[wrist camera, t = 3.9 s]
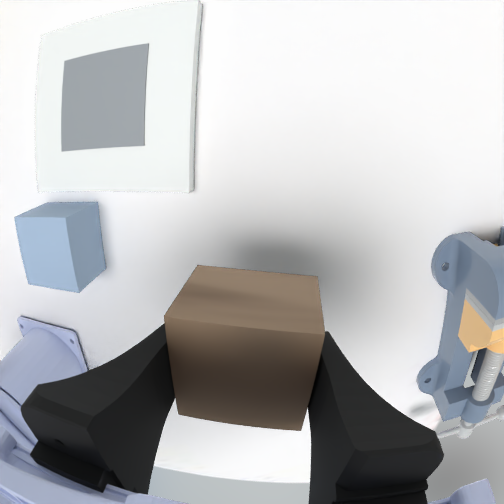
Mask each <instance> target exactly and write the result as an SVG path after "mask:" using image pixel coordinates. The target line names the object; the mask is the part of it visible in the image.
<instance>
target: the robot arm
mask: <svg viewBox="0 0 504 504" xmlns="http://www.w3.org/2000/svg"><path fill="white" fill-rule="evenodd" d="M17 321H18V324H19V327H20V330H21V332H22V335H23V338H22V339H21V340H20V341H19V342H18V343H17V344H16V345H15V346H14V347H13V348H12V349H11V350H10V351H9V353H8V354H7V355H6V356H5V357H4V358H3V359H2V360H1V361H0V504H188V503H182V502H178V501H173V500H169V499H165V498H161V497H157V496H152V495H148V489H149V484H150V479H151V474H152V470H153V465H154V460H155V456H156V452H157V448H158V445H159V441H160V437H161V434H162V430H163V427H164V424H165V421H166V418H167V415H168V413H169V411H170V408H171V406H172V404H173V402H174V399H175V392H174V386H173V380H172V374H171V367H170V360H169V353H168V345H167V338H166V330H165V323H164V324H163V325H162V326H160V327H159V328H158V329H157V330H155V331H154V332H153V333H152V334H150V335H149V336H148V337H146V338H145V339H144V340H142V341H141V342H140V343H138V344H137V345H135V346H134V347H132V348H131V349H129V350H128V351H126V352H125V353H123V354H122V355H120V356H118V357H117V358H115V359H113V360H111V361H109V362H107V363H105V364H103V365H101V366H99V367H96V368H94V369H92V370H89V371H88V369H87V367H86V364H85V361H84V358H83V355H82V352H81V348H80V345H79V342H78V339H77V336H76V334H75V332H73V331H71V330H68V329H64V328H60V327H56V326H52V325H49V324H45V323H42V322H38V321H35V320H31V319H28V318H24V317H21V316H20V317H19V318H17ZM308 413H309V421H310V430H311V476H310V494H309V504H496V501H495V498H494V495H493V492H492V489H491V486H490V484H489V481H488V479H483V480H480V481H477V482H474V483H471V484H467V485H465V486H462V487H461V488H459V489H458V490H456V491H455V492H454V493H453V494H452V495H451V496H450V497H448V498H444V499H441V500H437V501H433V502H429V503H427V499H426V494H425V490H427V489H428V484H427V480H426V479H427V478H428V477H429V476H430V475H431V474H432V473H433V471H434V470H435V469H436V468H437V467H438V466H439V464H440V463H441V462H442V460H443V457H444V454H443V451H442V448H441V444H440V441H439V439H438V437H437V435H436V432H435V431H433V430H431V429H429V428H427V427H425V426H423V425H421V424H419V423H417V422H415V421H414V420H412V419H410V418H409V417H407V416H406V415H404V414H403V413H401V412H400V411H398V410H397V409H395V408H394V407H393V406H391V405H390V404H389V403H388V402H386V401H385V400H384V399H383V398H381V397H380V396H379V395H378V394H377V393H376V392H375V391H374V390H373V389H372V388H371V387H370V386H369V385H368V384H367V383H366V382H365V381H364V380H363V379H362V378H361V377H360V375H359V374H358V373H357V372H356V371H355V369H354V368H353V367H352V365H351V364H350V363H349V361H348V360H347V359H346V357H345V356H344V354H343V353H342V352H341V350H340V349H339V347H338V346H337V344H336V343H335V341H334V339H333V338H332V336H331V335H330V333H329V332H326V331H325V337H324V342H323V346H322V351H321V355H320V359H319V364H318V368H317V372H316V376H315V380H314V384H313V388H312V392H311V396H310V400H309V404H308Z"/></svg>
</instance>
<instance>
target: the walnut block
mask: <svg viewBox="0 0 504 504" xmlns="http://www.w3.org/2000/svg"><path fill="white" fill-rule="evenodd" d="M164 321H165V330H166V338H167V345H168V353H169V360H170V367H171V374H172V380H173V386H174V392H175V398H176V404H177V410H178V414H179V415H184V416H189V417H194V418H199V419H205V420H210V421H216V422H223V423H229V424H236V425H244V426H252V427H261V428H271V429H282V430H296V431H301V429H302V426H303V422H304V418H305V415H306V411H307V407H308V404H309V400H310V396H311V392H312V388H313V384H314V380H315V376H316V372H317V368H318V364H319V359H320V355H321V351H322V346H323V342H324V337H325V330H324V322H323V314H322V306H321V299H320V292H319V284H318V278H317V276H307V275H296V274H285V273H274V272H263V271H253V270H242V269H232V268H222V267H212V266H202V265H197V267H196V268H195V270H194V271H193V273H192V274H191V276H190V277H189V279H188V280H187V282H186V283H185V285H184V286H183V288H182V289H181V291H180V292H179V294H178V295H177V297H176V298H175V300H174V301H173V303H172V305H171V306H170V308H169V309H168V311H167V312H166V314H165V315H164Z"/></svg>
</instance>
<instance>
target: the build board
mask: <svg viewBox="0 0 504 504" xmlns="http://www.w3.org/2000/svg"><path fill="white" fill-rule="evenodd" d="M201 15H202V3H201V2H200V0H181V1H173V2H166V3H160V4H153V5H148V6H142V7H137V8H132V9H127V10H123V11H118V12H114V13H110V14H106V15H102V16H98V17H95V18H91V19H88V20H84V21H81V22H78V23H75V24H72V25H69V26H66V27H63V28H60V29H57V30H54V31H52V32H49V33H46V34H44V35H41V42H40V49H39V58H38V67H37V78H36V93H35V161H36V177H37V189H38V192H89V191H113V192H169V193H190V192H192V191H193V190H194V136H195V107H196V85H197V68H198V52H199V39H200V26H201Z"/></svg>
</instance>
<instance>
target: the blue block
mask: <svg viewBox="0 0 504 504" xmlns="http://www.w3.org/2000/svg"><path fill="white" fill-rule="evenodd" d="M14 218H15V224H16V230H17V236H18V241H19V246H20V251H21V255H22V260H23V264H24V268H25V272H26V276H27V280H28V284H31V285H36V286H42V287H47V288H53V289H59V290H65V291H71V292H77V293H80V292H81V291H82V290H83V289H84V288H85V287H86V286H87V285H88V284H89V283H90V282H91V281H93V280H94V279H95V278H96V277H97V276H98V275H99V274H100V273H101V272H103V271H104V270H105V269H106V264H105V257H104V250H103V243H102V235H101V227H100V218H99V209H98V202H52V203H45V204H43V205H41V206H38V207H36V208H34V209H31V210H29V211H27V212H25V213H22V214H20V215H18V216H16V217H14Z"/></svg>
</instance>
